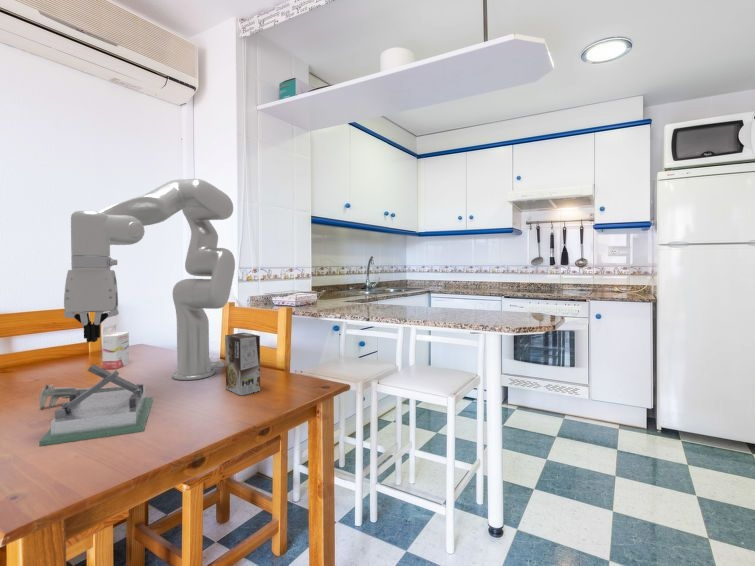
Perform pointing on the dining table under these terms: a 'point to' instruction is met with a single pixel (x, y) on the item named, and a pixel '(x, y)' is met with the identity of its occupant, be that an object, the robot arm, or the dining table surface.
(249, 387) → the coffee box
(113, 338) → the ink cartridge box
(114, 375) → the strap
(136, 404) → the base
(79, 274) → the robot arm
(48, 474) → the dining table surface
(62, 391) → the caliper
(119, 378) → the strap
